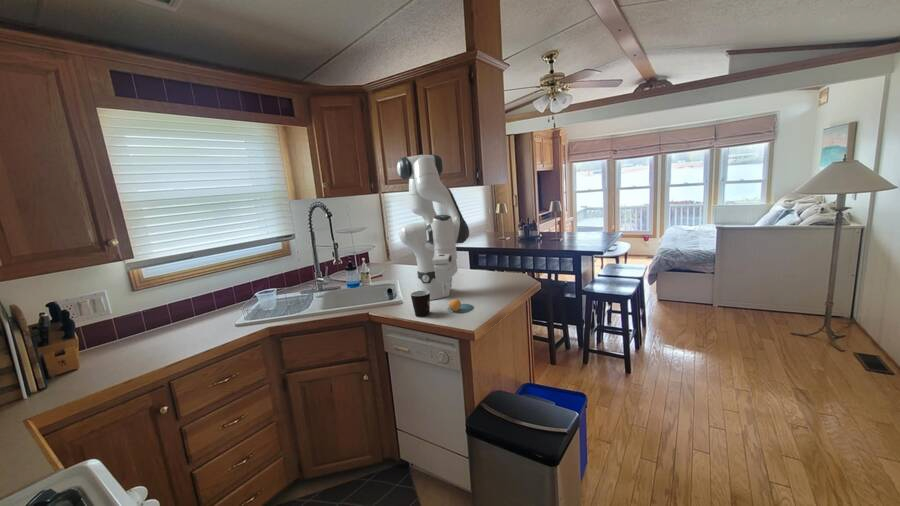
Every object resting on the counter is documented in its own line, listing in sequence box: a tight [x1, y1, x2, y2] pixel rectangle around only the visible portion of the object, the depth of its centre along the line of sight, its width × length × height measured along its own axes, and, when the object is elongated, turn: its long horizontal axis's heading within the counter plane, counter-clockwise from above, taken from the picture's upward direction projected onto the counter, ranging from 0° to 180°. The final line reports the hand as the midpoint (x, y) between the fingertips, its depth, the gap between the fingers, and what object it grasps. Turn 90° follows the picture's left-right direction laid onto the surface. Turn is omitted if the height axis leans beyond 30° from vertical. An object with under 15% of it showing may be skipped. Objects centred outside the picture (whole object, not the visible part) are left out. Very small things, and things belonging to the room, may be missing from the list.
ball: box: [448, 298, 462, 312], centre depth 164 cm, size 6×6×6 cm
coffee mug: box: [410, 290, 431, 318], centre depth 164 cm, size 12×9×10 cm
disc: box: [446, 303, 474, 314], centre depth 167 cm, size 12×12×1 cm
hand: (448, 288), depth 150 cm, fingers closed
